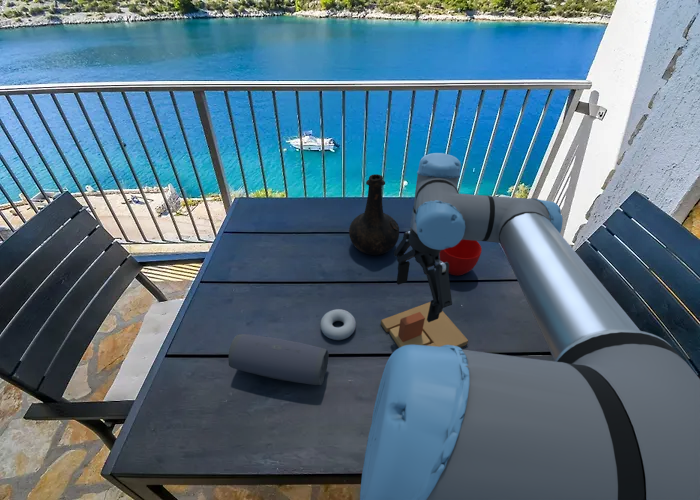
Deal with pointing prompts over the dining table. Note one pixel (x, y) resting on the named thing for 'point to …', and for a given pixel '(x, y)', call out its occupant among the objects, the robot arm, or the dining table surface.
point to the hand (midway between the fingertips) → (416, 300)
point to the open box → (410, 331)
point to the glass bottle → (374, 223)
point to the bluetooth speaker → (278, 358)
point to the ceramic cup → (461, 256)
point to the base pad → (431, 327)
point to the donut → (341, 331)
